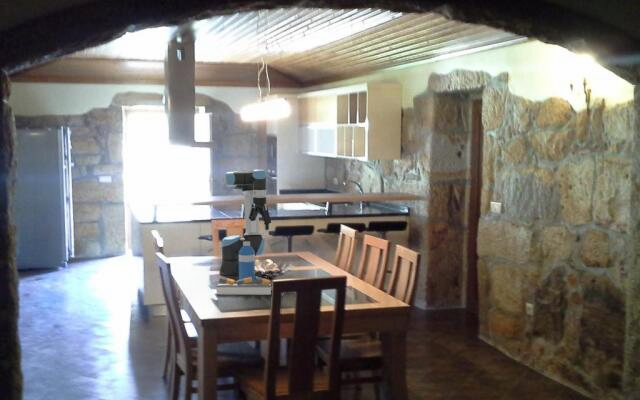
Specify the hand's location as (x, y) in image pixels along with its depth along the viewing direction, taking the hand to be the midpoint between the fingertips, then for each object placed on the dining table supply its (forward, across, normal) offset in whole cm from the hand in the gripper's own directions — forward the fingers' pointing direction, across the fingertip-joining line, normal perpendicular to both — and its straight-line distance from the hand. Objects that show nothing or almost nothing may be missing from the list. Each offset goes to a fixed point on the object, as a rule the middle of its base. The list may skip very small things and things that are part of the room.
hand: (259, 233), depth 395 cm
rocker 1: (+25, +1, -22) cm, 33 cm away
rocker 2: (+24, +7, -14) cm, 29 cm away
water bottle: (+31, -10, -3) cm, 33 cm away
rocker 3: (+24, +13, -6) cm, 28 cm away
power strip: (+31, +7, -14) cm, 35 cm away
